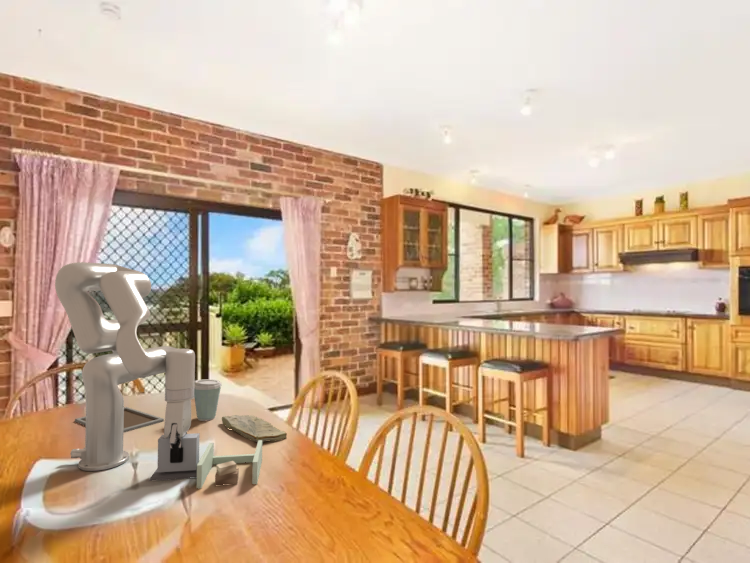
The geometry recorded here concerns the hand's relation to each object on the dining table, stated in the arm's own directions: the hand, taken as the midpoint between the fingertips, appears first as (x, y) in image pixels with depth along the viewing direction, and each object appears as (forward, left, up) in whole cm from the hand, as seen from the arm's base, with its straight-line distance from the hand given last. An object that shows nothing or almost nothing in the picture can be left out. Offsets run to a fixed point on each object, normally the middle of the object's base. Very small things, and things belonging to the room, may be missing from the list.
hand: (178, 458), depth 118 cm
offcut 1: (+14, -7, -1) cm, 16 cm away
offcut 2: (+14, -8, -4) cm, 17 cm away
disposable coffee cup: (-2, +49, -4) cm, 49 cm away
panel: (0, 0, -4) cm, 4 cm away
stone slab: (+16, +32, -5) cm, 37 cm away
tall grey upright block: (0, 0, -3) cm, 3 cm away
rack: (+15, -2, -4) cm, 15 cm away
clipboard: (-35, +51, -5) cm, 62 cm away
